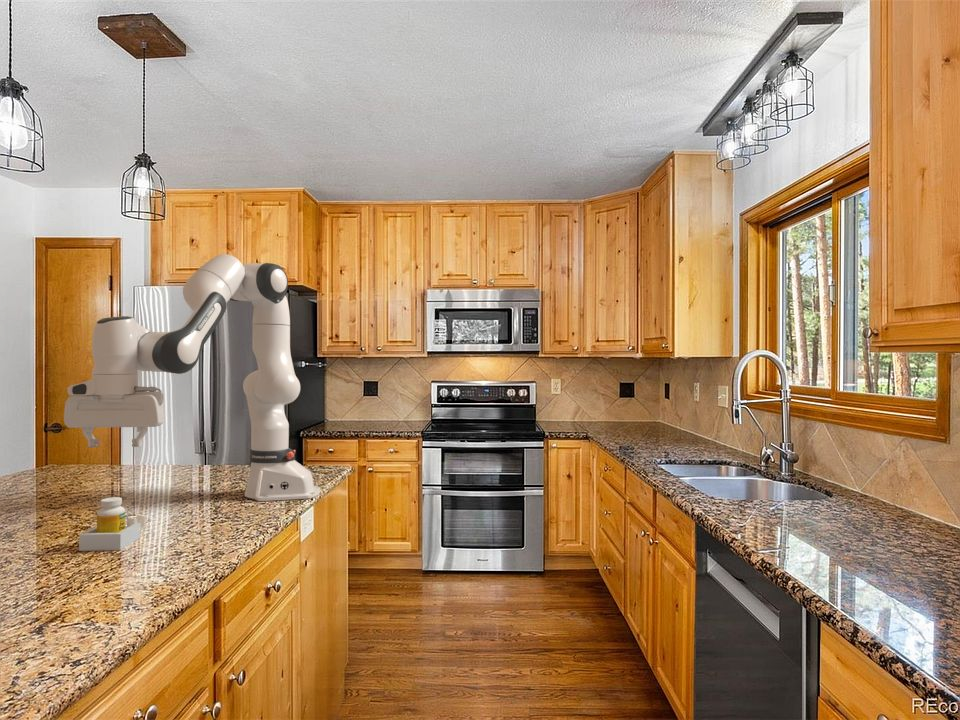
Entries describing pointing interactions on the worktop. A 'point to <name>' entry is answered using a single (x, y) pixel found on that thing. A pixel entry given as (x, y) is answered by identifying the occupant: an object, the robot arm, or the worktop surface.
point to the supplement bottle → (111, 516)
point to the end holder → (108, 539)
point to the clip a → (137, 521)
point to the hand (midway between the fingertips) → (115, 446)
